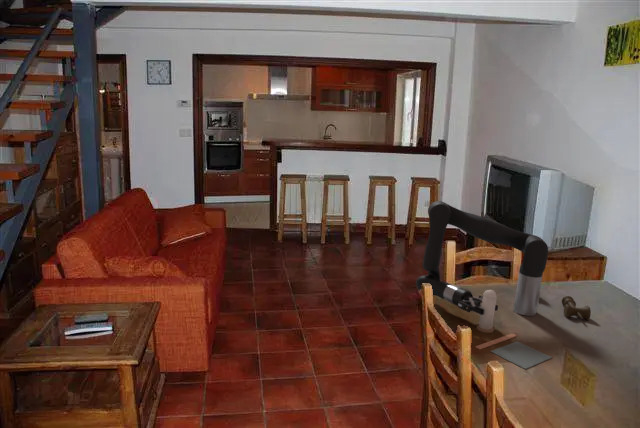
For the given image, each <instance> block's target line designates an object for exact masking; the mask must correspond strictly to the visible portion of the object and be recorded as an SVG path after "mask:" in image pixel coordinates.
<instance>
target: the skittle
mask: <svg viewBox="0 0 640 428" xmlns="http://www.w3.org/2000/svg"><path fill="white" fill-rule="evenodd" d="M482 296H483V300H482V303H481V305H482V307H480V308H482V309H484V314H483V315H481V314H479V315H480V316H479V321H478V323H477V324H476V330H477V331H479V332H481V333H484V334H492V333H494V330H495V327H494V326H493V324H494V319H495V318H494V316H495V305H497V293H496V291H495V290H493V289H486V290H485V291H484V292H483V294H482Z"/></svg>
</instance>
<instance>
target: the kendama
mask: <svg viewBox="0 0 640 428" xmlns="http://www.w3.org/2000/svg"><path fill="white" fill-rule="evenodd" d="M561 304H562V305H561V306H563V315H564V317H565V318H568V319H569V318H570V317H576V316H577V317H580V318H582V319H584V320H586V321H589V320H590V318H591V315H592V314H591V308H590V306H589V305H585V306H583V307H576V306H577V302H576V301H575V300H574V298H573V297H572V296H569V295H565V296H563V297H562V299H561Z"/></svg>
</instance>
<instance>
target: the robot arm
mask: <svg viewBox="0 0 640 428" xmlns="http://www.w3.org/2000/svg"><path fill="white" fill-rule="evenodd" d="M427 213H428V214H427V215H428V218H429V232H428V238H427V242H426V246H425V249H424V254H423V259H422V269H423V270H425V271H426V272H427V275H426V274H425V275H420V276H418V277H417V279H416V282H415V286H416V288H417V289H418V291H420V289H421V285H422V283H430V284H431V285H432V289H433V295H432V296H434V297H435V296H436V297H438V298H440V299H442V300H445V301H446V302H448V303H450V304H451V305H455V306H457V307H458V308H459V309H461V310H463V311H465V312H467V313H471V312H472V313H476V314H479V315H480V314H481V315H483V314H484V309H482V308H481V307H482V300H483V295H478V297H477V296H473V293H472V292H471V291H470V290H469V289H465V288H463V287H460V286H458V285H454V284H452V283H449V282H447V281H442V280H441V275H440V264H441V257H442V251H443V244H444V243H443V242H444V237H445V233H446V230H447V227H448V225H450V226H453V227H456V228H458V229H460V230H461V231H463V232H464V233H466V234H468V235H470V236H472V237H474V238H476V239H479V240H482V241H484V242H487V243H490V244H497V245H504V246H508V247H511V248H513V249H516V250H518V251H520V252H522V253H524V254H523V260H522V264H521V265H520V266H519V272H518V278H517V282H516V283H517V284H516V290H515V296H514V297H515V298H514V303H513V307H512V308H513V312H515V313H517V314H518V315H523V316H527V317H532V316H536V315H537V312H538V308H539V301H540V296H541V286H542V279H543V273H544V272H545V270H546V266H547V262H548V256H549V246H548V244H547V243H546V241H544V239H542V238H541V237H540V236H538V235H534V234H531V233H526V232H522V231H519V230H516V229H513V228H511V227H509V226H507V225H505V224H502V223H500V222H498V221H495V220H492V219H490V218H487V217H484V216H482V215H481V216H480V215H479V214H478V215H477V214H474V213H470V212H467V211H463V210H461V209H459V208H456V207H454V206H452V205H450V204H448V203H447V202H445V201H441V200H437V201H433V202H432V203H431V204H430V205H429V206H428V208H427ZM498 309H499V305H498V304H496V305H495V311H496V312H497V311H498Z"/></svg>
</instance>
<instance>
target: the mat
mask: <svg viewBox="0 0 640 428" xmlns="http://www.w3.org/2000/svg"><path fill="white" fill-rule="evenodd" d="M490 353H491V354H494V355H496V356H498V357H500V358H502V359H504V360H505V361H508V362H510V363H512V364H514V365H516V366H517V367H519V368H522V369H524V370H527V369H530V368H533V367H535V366H536V365H540V364H541V363H544V362H546V361H549V360H550V359H553V356H551V355H548V354H545V353H544V352H541V351H539V350H537V349H535V348H532V347H531V346H528V345H526V344H525V343H522V342H519V341H514V342H511V343H509V344H505V345H503V346H501V347H498V348H495V349H493V350H490Z"/></svg>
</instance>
